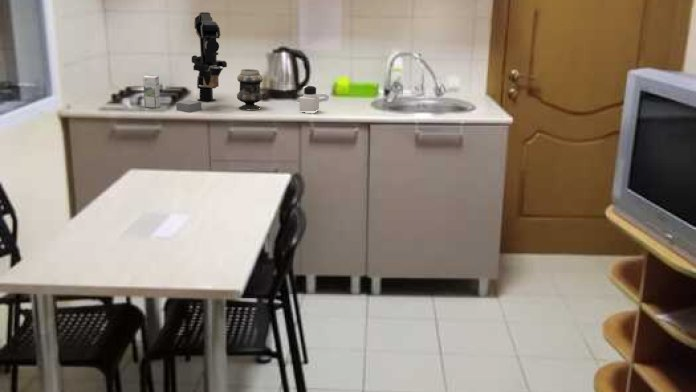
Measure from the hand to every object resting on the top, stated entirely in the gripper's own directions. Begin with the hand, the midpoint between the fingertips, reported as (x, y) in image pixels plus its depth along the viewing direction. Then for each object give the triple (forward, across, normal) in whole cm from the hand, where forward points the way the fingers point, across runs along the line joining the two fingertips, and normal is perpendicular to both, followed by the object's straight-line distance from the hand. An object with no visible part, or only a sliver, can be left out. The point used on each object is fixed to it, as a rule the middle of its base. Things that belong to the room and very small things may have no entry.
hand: (210, 84), depth 344 cm
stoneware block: (+11, +10, -5) cm, 16 cm away
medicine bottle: (+11, -18, +42) cm, 47 cm away
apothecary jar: (+11, -10, +15) cm, 21 cm away
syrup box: (+11, +14, -24) cm, 29 cm away
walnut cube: (+1, 0, 0) cm, 1 cm away
